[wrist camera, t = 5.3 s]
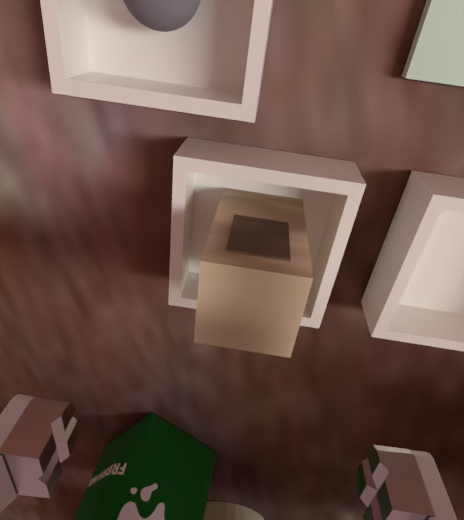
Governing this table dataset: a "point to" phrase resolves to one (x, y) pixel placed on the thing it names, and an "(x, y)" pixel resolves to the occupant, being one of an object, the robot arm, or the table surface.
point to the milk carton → (150, 476)
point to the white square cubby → (268, 182)
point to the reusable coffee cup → (229, 512)
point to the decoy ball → (163, 13)
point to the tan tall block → (254, 274)
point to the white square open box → (160, 56)
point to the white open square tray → (421, 267)
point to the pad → (438, 44)
